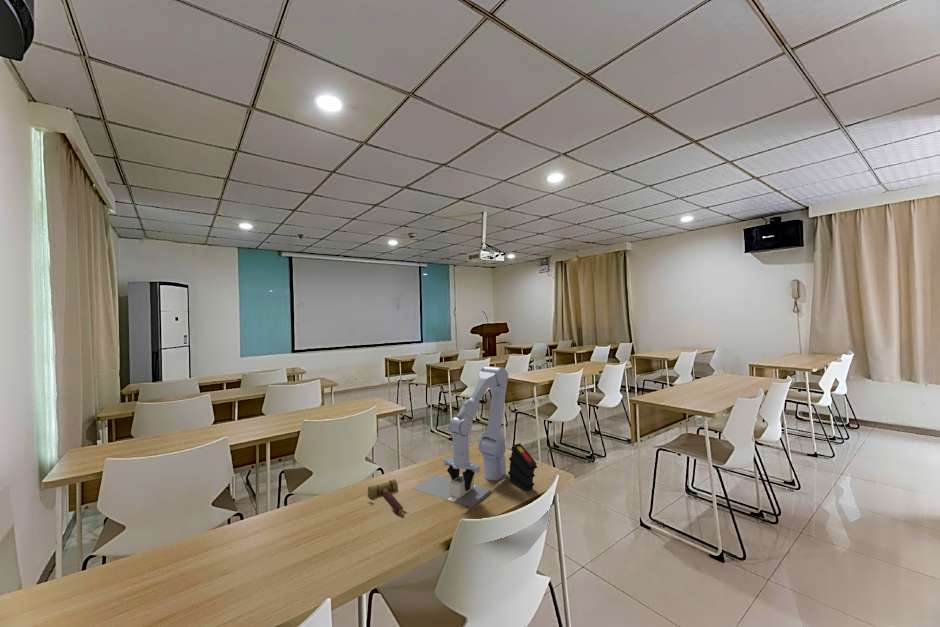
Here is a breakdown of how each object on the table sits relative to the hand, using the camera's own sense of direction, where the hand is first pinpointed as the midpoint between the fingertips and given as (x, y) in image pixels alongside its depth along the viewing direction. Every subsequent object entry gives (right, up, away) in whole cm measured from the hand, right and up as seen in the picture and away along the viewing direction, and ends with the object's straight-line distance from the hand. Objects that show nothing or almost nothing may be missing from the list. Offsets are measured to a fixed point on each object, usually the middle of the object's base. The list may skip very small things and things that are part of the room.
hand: (462, 488), depth 139 cm
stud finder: (0, -1, 0) cm, 1 cm away
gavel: (-25, -4, -4) cm, 25 cm away
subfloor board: (-4, -3, +3) cm, 6 cm away
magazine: (+23, -2, +5) cm, 24 cm away
